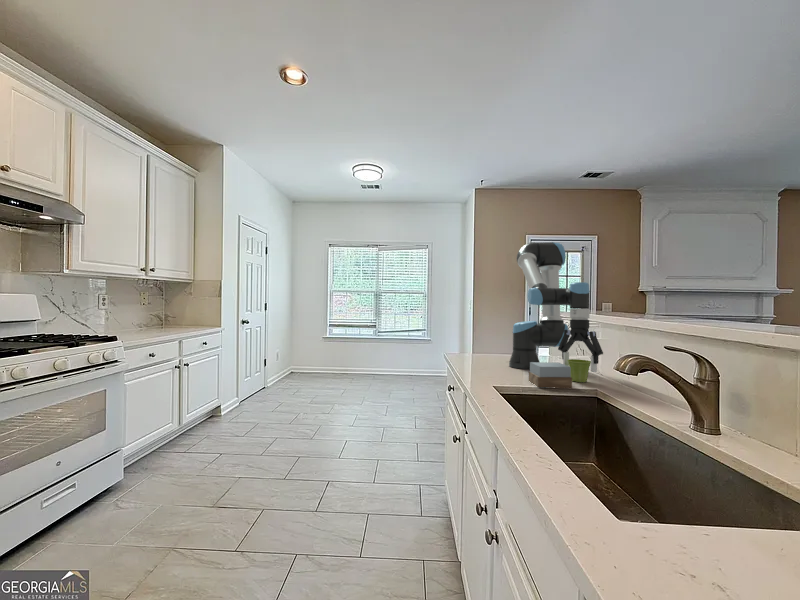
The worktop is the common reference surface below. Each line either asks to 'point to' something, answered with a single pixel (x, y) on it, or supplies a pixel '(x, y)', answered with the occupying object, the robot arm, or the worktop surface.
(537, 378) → the walnut base block
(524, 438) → the worktop surface
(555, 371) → the slate top block
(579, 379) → the plant pot
